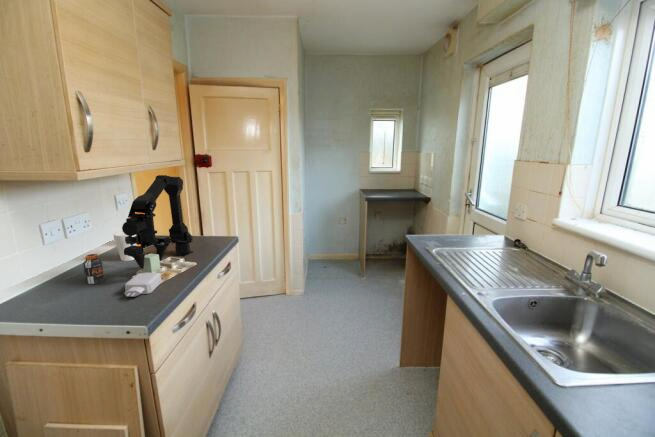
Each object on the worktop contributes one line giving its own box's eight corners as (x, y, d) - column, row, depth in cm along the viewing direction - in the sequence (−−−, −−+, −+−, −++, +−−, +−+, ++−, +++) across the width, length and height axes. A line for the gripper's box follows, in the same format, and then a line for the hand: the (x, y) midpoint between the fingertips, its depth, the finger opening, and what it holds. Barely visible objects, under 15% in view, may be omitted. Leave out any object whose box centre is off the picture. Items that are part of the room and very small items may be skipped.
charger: (116, 302, 108) (138, 284, 122) (143, 301, 109) (161, 283, 123) (114, 290, 107) (136, 273, 121) (142, 289, 108) (160, 272, 122)
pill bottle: (95, 285, 121) (90, 258, 118) (82, 283, 122) (77, 257, 119) (108, 278, 126) (104, 253, 124) (96, 277, 128) (92, 252, 125)
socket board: (170, 260, 147) (169, 255, 146) (196, 264, 143) (196, 258, 142) (131, 278, 127) (131, 272, 126) (161, 283, 123) (160, 276, 122)
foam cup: (132, 254, 155) (129, 229, 152) (144, 257, 152) (141, 231, 149) (113, 260, 147) (109, 234, 144) (124, 263, 143) (120, 236, 140)
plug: (152, 270, 133) (150, 253, 131) (160, 272, 132) (158, 254, 130) (143, 274, 129) (141, 256, 127) (152, 276, 128) (149, 258, 126)
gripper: (149, 222, 137) (153, 255, 140) (110, 233, 119) (116, 270, 123) (169, 224, 134) (173, 257, 137) (132, 235, 116) (138, 274, 120)
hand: (151, 264), depth 129 cm, fingers open, 9 cm apart
